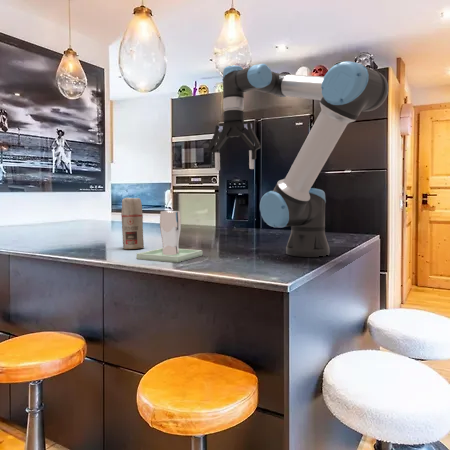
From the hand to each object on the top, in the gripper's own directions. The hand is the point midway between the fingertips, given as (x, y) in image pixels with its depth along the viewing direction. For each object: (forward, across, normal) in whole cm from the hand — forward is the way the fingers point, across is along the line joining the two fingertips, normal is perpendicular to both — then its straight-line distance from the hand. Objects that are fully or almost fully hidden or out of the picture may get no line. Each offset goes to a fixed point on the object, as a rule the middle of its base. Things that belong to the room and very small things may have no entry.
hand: (234, 169), depth 151 cm
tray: (+30, +15, +22) cm, 40 cm away
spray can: (+30, +39, +10) cm, 50 cm away
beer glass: (+30, +15, +22) cm, 40 cm away
